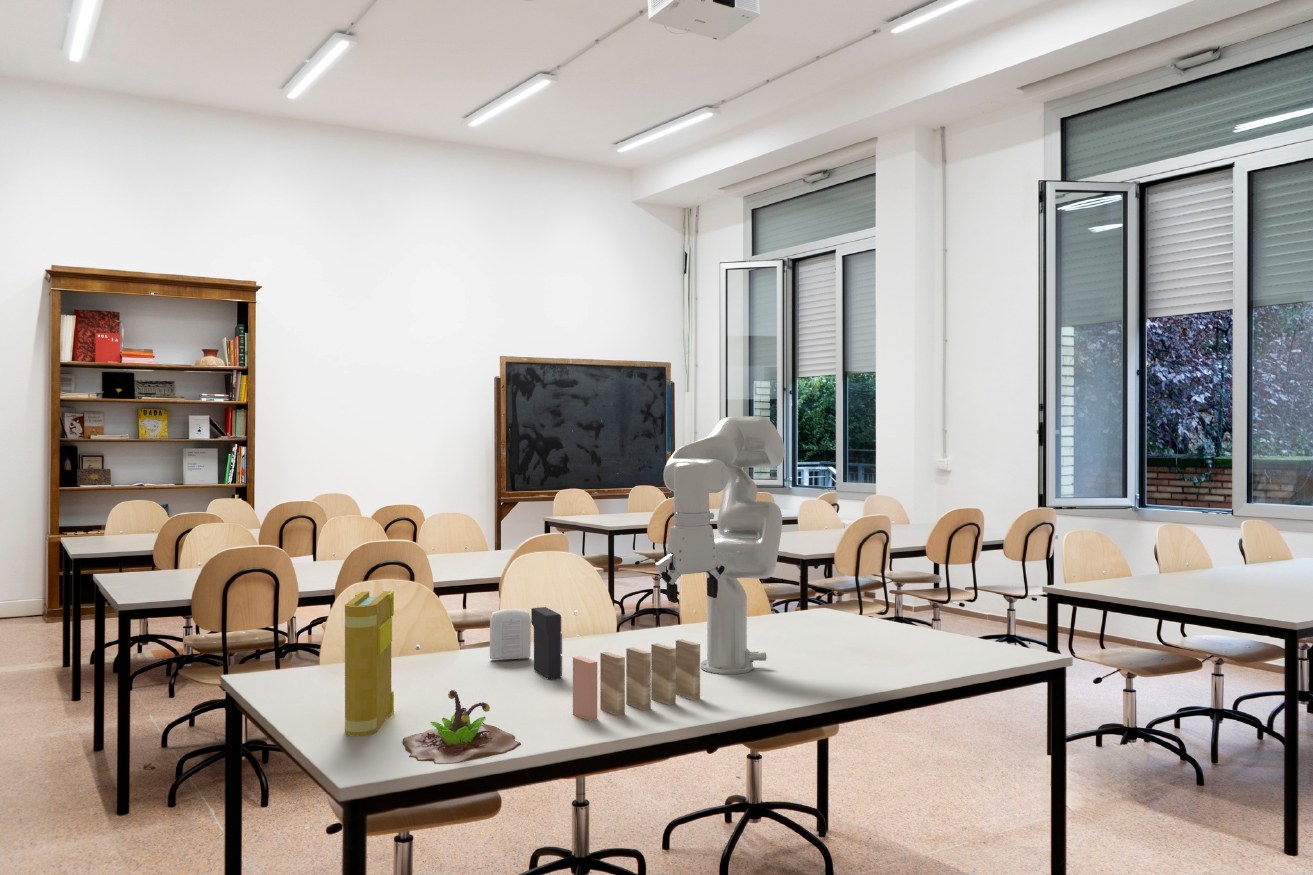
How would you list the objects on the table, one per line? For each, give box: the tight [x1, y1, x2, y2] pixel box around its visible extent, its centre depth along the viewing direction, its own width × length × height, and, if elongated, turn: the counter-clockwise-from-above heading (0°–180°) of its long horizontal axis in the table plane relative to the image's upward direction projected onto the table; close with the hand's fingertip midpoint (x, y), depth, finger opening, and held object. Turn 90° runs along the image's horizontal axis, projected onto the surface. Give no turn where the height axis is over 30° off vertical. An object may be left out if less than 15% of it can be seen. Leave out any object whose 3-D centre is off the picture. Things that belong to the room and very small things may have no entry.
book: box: [344, 590, 395, 737], centre depth 186 cm, size 17×7×25 cm, turn 5°
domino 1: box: [572, 655, 598, 722], centre depth 190 cm, size 2×6×12 cm, turn 38°
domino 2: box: [599, 651, 626, 716], centre depth 194 cm, size 2×6×12 cm, turn 37°
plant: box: [401, 689, 522, 765], centre depth 173 cm, size 20×20×11 cm
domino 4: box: [650, 642, 677, 706], centre depth 202 cm, size 2×6×12 cm, turn 38°
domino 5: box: [675, 638, 701, 701], centre depth 206 cm, size 2×6×12 cm, turn 37°
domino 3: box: [625, 646, 652, 711], centre depth 198 cm, size 2×6×12 cm, turn 37°
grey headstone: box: [489, 608, 532, 660], centre depth 244 cm, size 10×4×12 cm, turn 103°
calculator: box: [530, 606, 563, 681], centre depth 228 cm, size 11×4×15 cm, turn 26°
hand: (692, 599), depth 207 cm, fingers open, 9 cm apart
